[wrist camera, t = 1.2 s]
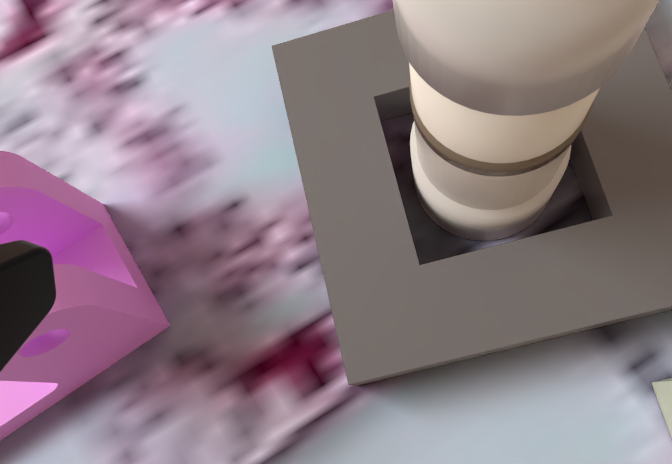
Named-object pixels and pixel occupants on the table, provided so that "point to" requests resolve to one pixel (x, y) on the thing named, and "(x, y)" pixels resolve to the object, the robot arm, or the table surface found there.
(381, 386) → the table surface
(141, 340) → the bracket
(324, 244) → the fuse holder
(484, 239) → the cream salt shaker
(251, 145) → the table surface
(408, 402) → the table surface
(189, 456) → the table surface
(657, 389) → the tray
